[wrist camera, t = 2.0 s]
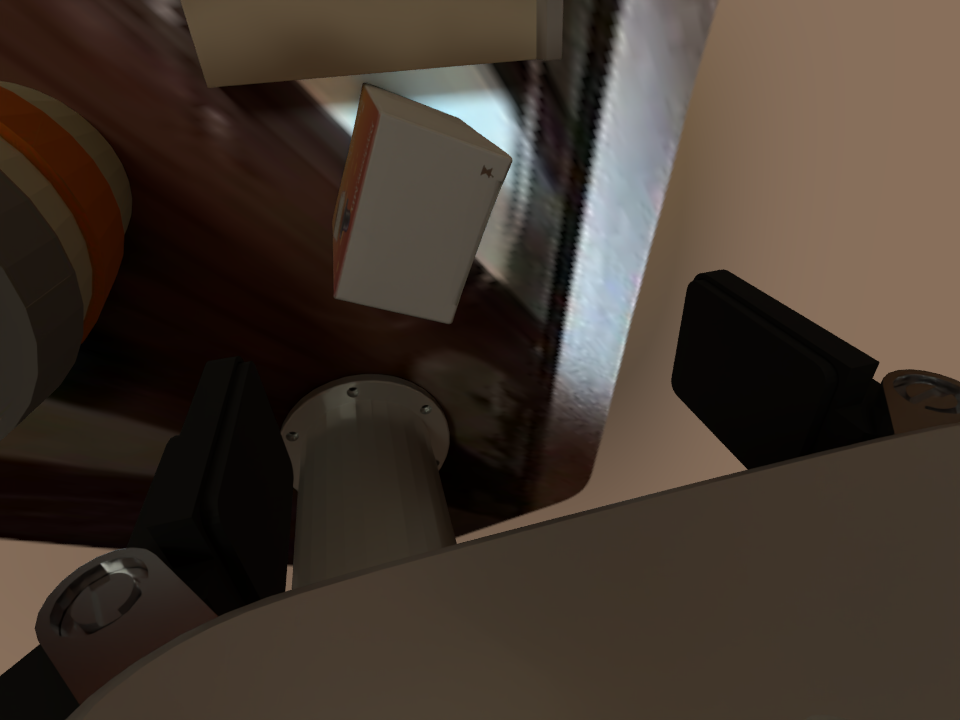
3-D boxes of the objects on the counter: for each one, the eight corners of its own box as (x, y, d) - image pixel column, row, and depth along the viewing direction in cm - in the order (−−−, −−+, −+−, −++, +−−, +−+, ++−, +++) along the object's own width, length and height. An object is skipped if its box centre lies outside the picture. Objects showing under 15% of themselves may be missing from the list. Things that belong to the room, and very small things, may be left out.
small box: (362, 79, 27) (379, 102, 18) (461, 117, 29) (517, 154, 20) (329, 224, 30) (329, 301, 22) (419, 249, 32) (452, 328, 24)
